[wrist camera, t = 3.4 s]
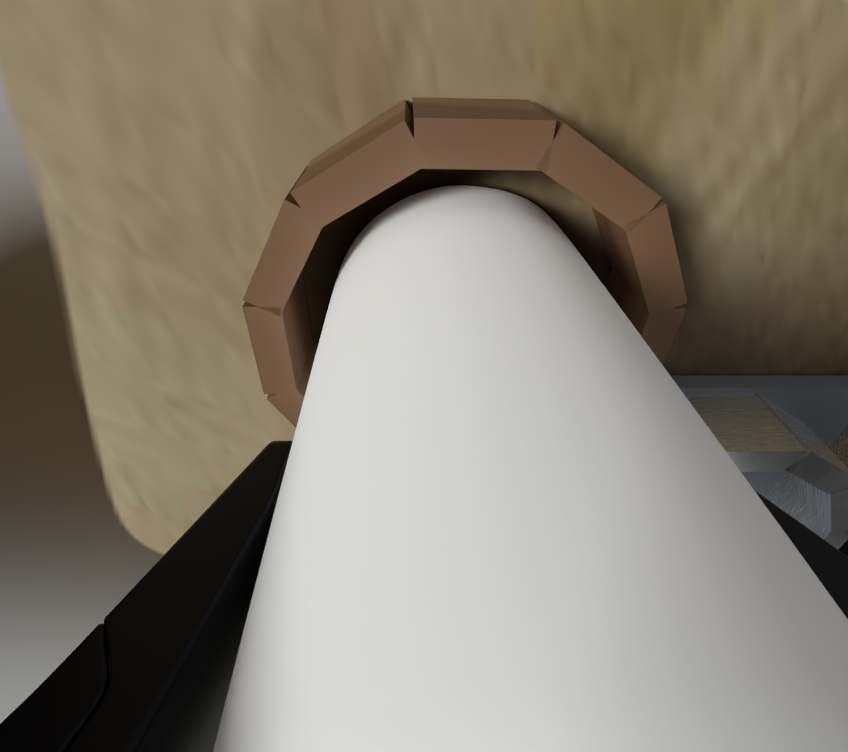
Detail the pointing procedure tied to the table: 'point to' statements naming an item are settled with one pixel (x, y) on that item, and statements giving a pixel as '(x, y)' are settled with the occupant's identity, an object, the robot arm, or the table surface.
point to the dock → (782, 440)
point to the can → (517, 526)
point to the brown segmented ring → (457, 149)
